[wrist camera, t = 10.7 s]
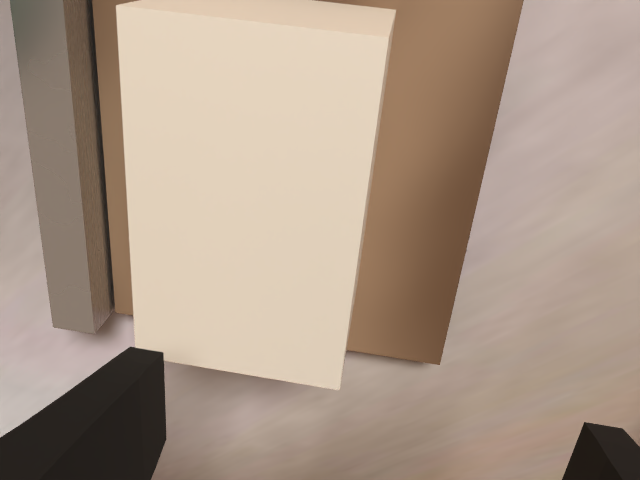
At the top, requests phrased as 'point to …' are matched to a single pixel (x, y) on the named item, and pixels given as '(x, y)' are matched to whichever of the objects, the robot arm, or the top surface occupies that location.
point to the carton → (250, 177)
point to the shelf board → (384, 165)
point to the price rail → (66, 156)
